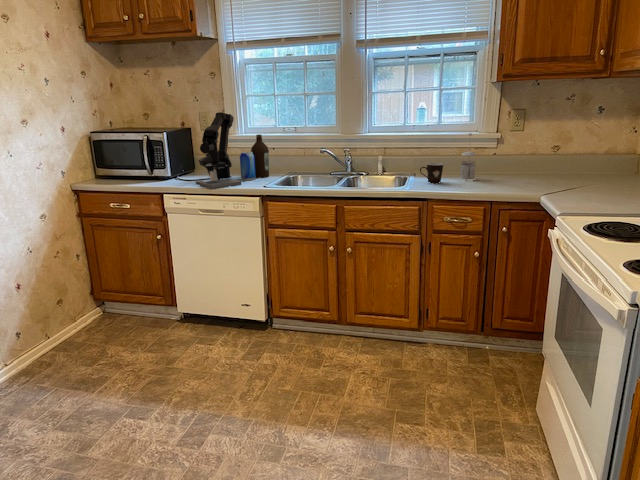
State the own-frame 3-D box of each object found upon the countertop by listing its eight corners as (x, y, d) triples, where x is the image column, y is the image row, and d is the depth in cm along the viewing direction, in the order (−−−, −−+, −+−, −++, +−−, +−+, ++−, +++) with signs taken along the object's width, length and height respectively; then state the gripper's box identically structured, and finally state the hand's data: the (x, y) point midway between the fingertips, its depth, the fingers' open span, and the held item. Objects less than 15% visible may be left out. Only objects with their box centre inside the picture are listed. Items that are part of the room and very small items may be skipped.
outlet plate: (228, 181, 276) (228, 178, 276) (241, 184, 266) (241, 181, 265) (200, 186, 265) (199, 182, 265) (212, 189, 255) (211, 185, 254)
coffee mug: (443, 181, 260) (444, 163, 257) (440, 184, 252) (441, 165, 249) (422, 180, 264) (423, 162, 261) (418, 183, 257) (419, 164, 254)
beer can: (258, 179, 282) (256, 151, 278) (247, 181, 276) (245, 153, 272) (249, 177, 288) (247, 151, 283) (238, 179, 282) (236, 152, 277)
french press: (474, 177, 269) (477, 132, 261) (479, 181, 258) (482, 134, 250) (456, 178, 270) (459, 132, 262) (460, 181, 259) (463, 134, 251)
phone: (201, 182, 275) (201, 180, 275) (207, 184, 270) (206, 182, 270) (195, 183, 273) (195, 181, 273) (201, 185, 268) (201, 183, 268)
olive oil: (250, 178, 287) (247, 135, 280) (255, 175, 297) (253, 134, 290) (267, 178, 285) (264, 135, 278) (272, 175, 295) (270, 133, 288)
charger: (216, 180, 281) (215, 170, 279) (220, 181, 278) (219, 171, 276) (210, 181, 279) (209, 171, 277) (213, 182, 276) (212, 171, 274)
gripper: (192, 151, 276) (195, 178, 280) (207, 154, 262) (210, 182, 266) (209, 149, 282) (212, 176, 287) (225, 152, 269) (227, 179, 273)
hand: (215, 178), depth 278 cm, fingers open, 9 cm apart
